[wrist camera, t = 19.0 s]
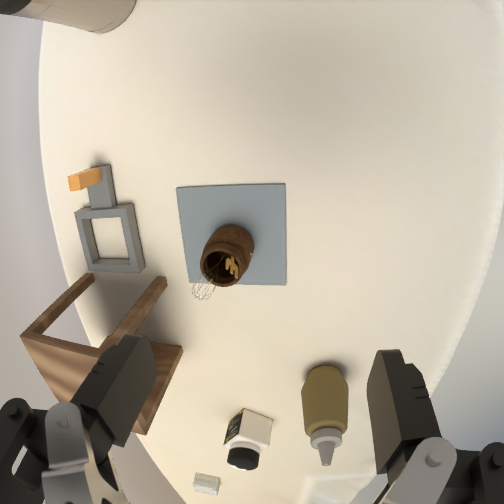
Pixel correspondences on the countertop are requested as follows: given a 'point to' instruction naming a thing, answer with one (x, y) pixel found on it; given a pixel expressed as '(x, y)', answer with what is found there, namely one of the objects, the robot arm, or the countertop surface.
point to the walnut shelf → (97, 350)
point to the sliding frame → (105, 207)
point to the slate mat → (242, 214)
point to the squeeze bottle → (325, 409)
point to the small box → (206, 483)
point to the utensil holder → (226, 256)
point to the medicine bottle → (247, 439)
